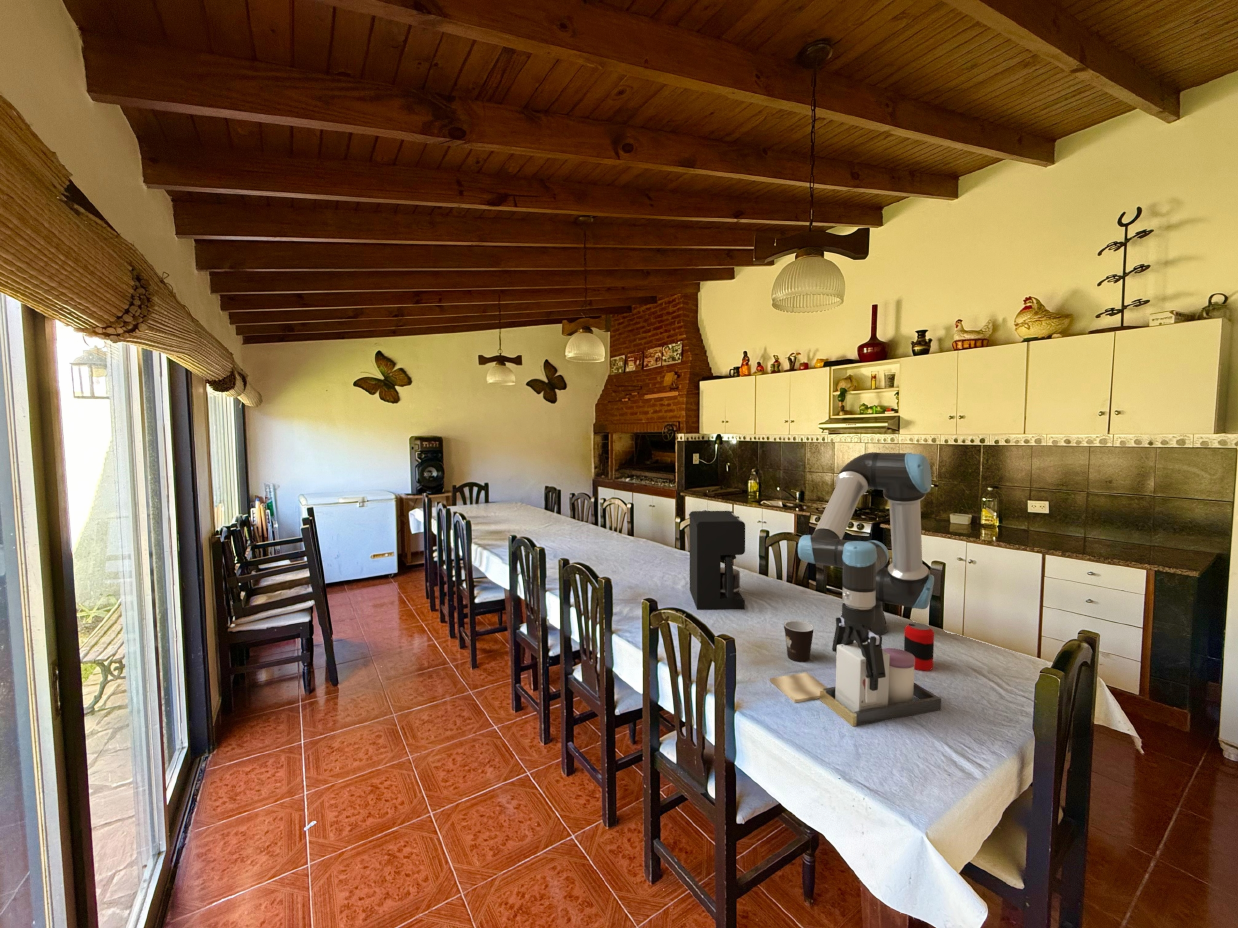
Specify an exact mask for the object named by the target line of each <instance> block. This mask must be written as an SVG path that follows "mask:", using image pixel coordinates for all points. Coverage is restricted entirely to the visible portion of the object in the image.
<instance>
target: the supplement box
mask: <svg viewBox="0 0 1238 928" xmlns="http://www.w3.org/2000/svg"><path fill="white" fill-rule="evenodd" d="M862 644H867V642H866V643H862ZM882 653H883V660H884V667H885V674H886V677H884V678H879V679H878V690H877V693H876V701H874V702H869V703H866V702H865V676H866V675H868V673H867V670H866V658H864V657H863V655H862V652H861V649H860V648H859V647H858V644H857V642H856V641H854V642H853V644H850V645H843V644H840V645H837V655H836V658H835V660H836V665H835V687H836V688H835V700H836V701H838V702H839V703H840V704H842V705H843V706H844V707H846V708H847V709H848V710H849V711H851V712H852V713H853V714H854V712H855V711H861V710H866V709H872V708H877V707H883V706H888V689H889V660H890V654H888V653H886V652H884V651H883V650H882ZM872 672H873V671H872Z"/></svg>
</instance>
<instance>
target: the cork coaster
mask: <svg viewBox="0 0 1238 928" xmlns="http://www.w3.org/2000/svg"><path fill="white" fill-rule="evenodd" d="M769 682H770V683H771V684H772V685H774V686H775V688H777V689H778V690H779V691H781V692H782V693H783V694H784V695H785V696H786V697H787V698H789V699H790V700H791V701H792V702H793V703H794V704H795V703H801V702H806V701H811V700H812V701H814V700H818V699H819V700H820V691H823V689H824V688H828V687H827V686H826V685H824V684H823V683H822V682H820V681H819V680H818V679H817V678H815V677H814V676H813V675H811V674H810V673H808V672H800V673H795V674H788V675H782V676H781V675H780V676H775V677H770V678H769Z"/></svg>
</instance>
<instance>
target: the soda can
mask: <svg viewBox="0 0 1238 928" xmlns="http://www.w3.org/2000/svg"><path fill="white" fill-rule="evenodd" d="M903 639H904V640H903V650H904V651H907V652H909V653H911V654H912V655H914V657H915V665H914V671H915V670H916V671H921V672H928V671H931V670H932V669H933V668H934V645H935V632H934V631H933V629H932V628H931V626H930V625H928V624H925V623H921V622H909V623H908V624H907V625H906V626H905V627H904V637H903Z"/></svg>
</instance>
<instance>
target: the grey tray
mask: <svg viewBox="0 0 1238 928" xmlns="http://www.w3.org/2000/svg"><path fill="white" fill-rule="evenodd" d="M835 688H836V686H830V687H827V688H824V689H823V691H820V699H819V701H820V702H822V703H823V704H824V705H825V706H826V707H828V709H831V710H832V712H834V713H835V714H836V715H837V716H839V717H840V718H841V719H843V720H844V721H845V722H846V723H847V724H849V725H850V726H852V727H858V726H864V725H869V724H874V723H879V722H880V723H881V722H885V721H889V720H895V719H901V718H905V717H910V716H916V715H921V714H927V713H932V712H937V711H941V710H942V697H940V696H938V695H937V694H934V693H933V692H932V691H929V690H928V689H926V688H925V687H923V686H921V685H920V684H918V683H916V682H914V691H913V697H915V698H917V700H913V701H910V702H905V703H899V704H894V705H888V706H883V707H877V708H872V709H866V710H861V711H855V712H854V713H852V712H851V711H850V710H848V709H847V708H846V707H845V706H843V705H842V704H841V703H839V702H838V701H837V700H835Z"/></svg>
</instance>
